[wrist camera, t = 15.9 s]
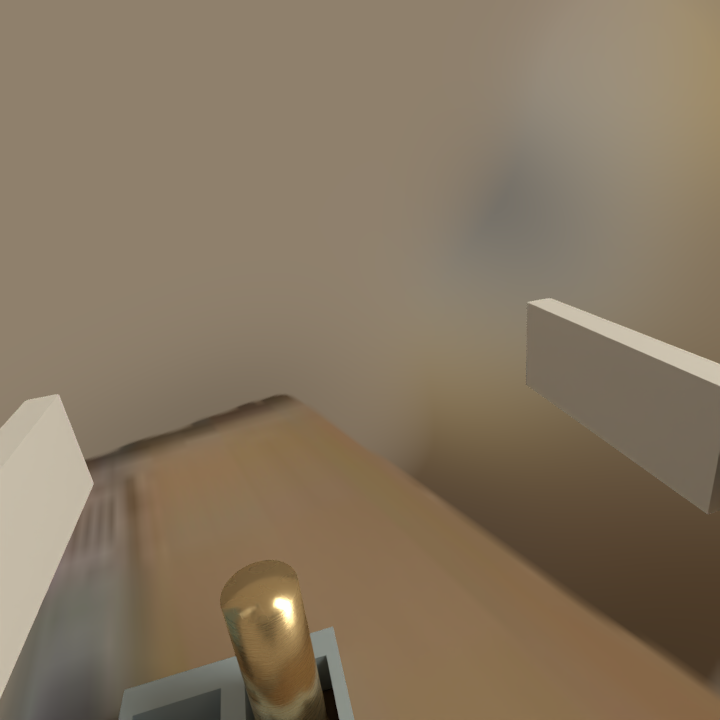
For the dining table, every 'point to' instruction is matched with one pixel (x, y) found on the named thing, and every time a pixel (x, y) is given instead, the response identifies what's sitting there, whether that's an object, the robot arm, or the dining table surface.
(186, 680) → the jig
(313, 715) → the gold metal cylinder
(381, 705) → the dining table surface
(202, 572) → the dining table surface
